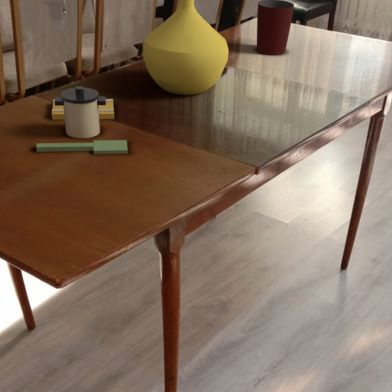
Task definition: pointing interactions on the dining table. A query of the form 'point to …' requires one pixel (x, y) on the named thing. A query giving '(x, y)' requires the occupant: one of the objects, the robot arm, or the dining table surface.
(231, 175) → the dining table surface
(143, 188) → the dining table surface
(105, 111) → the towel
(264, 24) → the mug
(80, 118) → the pot
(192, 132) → the dining table surface
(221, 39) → the vase
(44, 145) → the spatula
